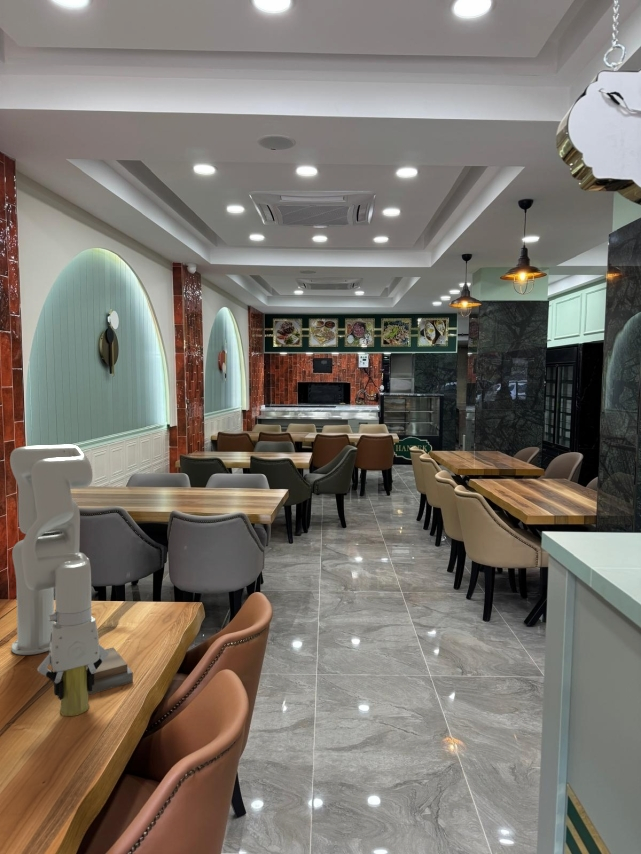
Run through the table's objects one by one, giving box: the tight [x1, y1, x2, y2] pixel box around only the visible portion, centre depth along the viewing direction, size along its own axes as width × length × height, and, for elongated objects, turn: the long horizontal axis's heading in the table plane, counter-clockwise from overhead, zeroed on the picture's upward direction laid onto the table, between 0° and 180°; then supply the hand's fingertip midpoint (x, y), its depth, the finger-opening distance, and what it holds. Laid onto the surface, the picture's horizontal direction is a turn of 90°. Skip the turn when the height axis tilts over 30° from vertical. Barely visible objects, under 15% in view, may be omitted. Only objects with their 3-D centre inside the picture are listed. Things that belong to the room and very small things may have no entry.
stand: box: [86, 647, 134, 696], centre depth 145 cm, size 14×14×4 cm
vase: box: [59, 666, 90, 717], centre depth 130 cm, size 6×6×14 cm
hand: (74, 692), depth 130 cm, fingers closed on vase, 5 cm apart
